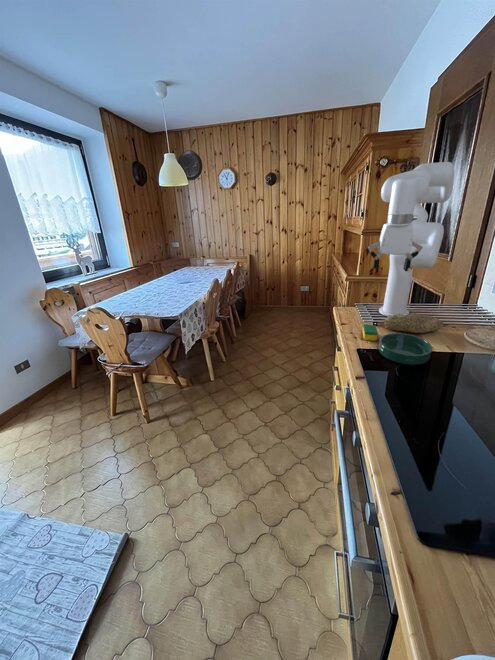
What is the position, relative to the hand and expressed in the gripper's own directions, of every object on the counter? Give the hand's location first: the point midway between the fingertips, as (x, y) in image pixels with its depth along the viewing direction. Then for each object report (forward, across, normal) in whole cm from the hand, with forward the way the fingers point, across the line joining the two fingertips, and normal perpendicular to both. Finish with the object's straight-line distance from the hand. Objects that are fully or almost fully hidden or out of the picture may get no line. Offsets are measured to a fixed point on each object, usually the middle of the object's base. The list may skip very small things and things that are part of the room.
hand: (390, 270), depth 102 cm
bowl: (+26, -6, +14) cm, 30 cm away
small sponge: (+26, +4, +2) cm, 27 cm away
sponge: (+26, -13, -6) cm, 30 cm away
